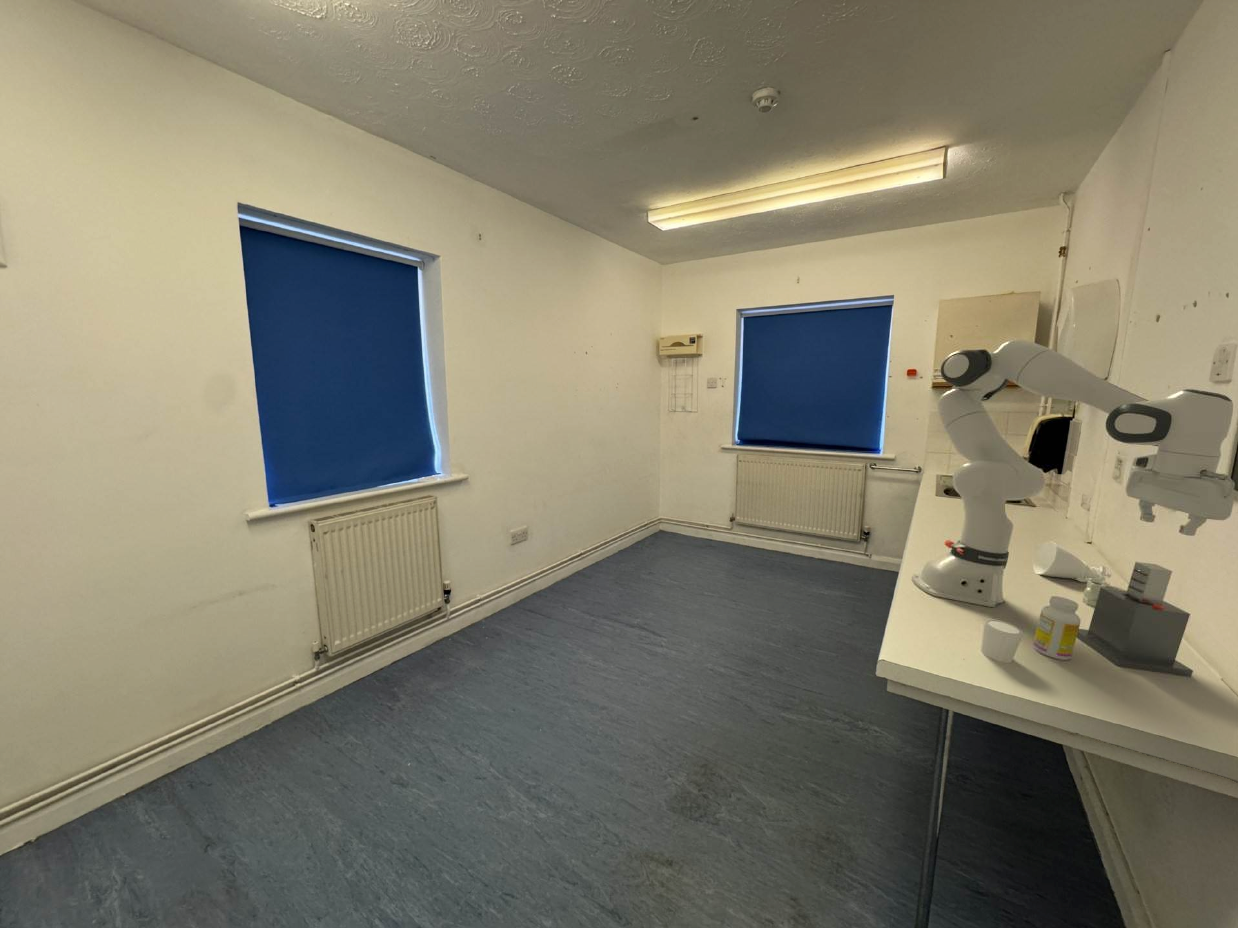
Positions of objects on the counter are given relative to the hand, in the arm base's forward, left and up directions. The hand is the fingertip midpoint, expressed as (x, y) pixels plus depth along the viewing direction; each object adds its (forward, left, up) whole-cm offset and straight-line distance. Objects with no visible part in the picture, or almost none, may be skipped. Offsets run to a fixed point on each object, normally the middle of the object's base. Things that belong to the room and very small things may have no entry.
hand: (1165, 527), depth 106 cm
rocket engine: (+20, +48, -31) cm, 60 cm away
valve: (+16, +26, -31) cm, 44 cm away
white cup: (-33, -10, -31) cm, 46 cm away
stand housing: (0, 0, -31) cm, 31 cm away
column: (0, 0, -29) cm, 29 cm away
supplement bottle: (-19, -5, -31) cm, 37 cm away
